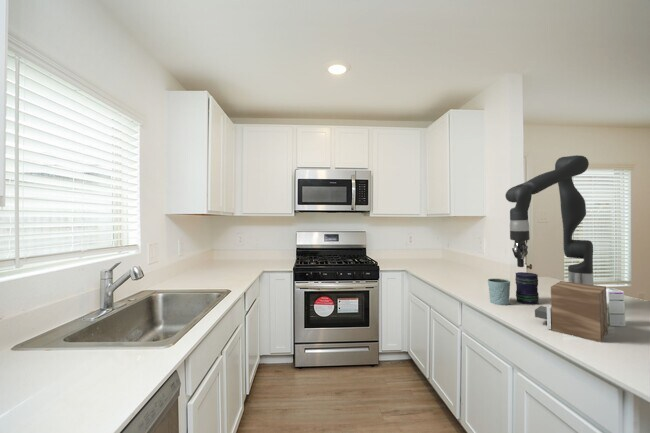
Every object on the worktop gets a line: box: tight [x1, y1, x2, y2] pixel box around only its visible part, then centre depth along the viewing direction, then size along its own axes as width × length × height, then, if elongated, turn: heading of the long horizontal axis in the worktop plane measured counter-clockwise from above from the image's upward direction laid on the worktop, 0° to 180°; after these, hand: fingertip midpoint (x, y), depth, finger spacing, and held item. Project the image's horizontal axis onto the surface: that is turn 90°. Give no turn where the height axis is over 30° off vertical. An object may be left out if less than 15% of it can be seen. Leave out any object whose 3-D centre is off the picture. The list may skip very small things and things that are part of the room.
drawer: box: [534, 304, 552, 330], centre depth 115 cm, size 15×19×8 cm
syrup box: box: [606, 287, 627, 327], centre depth 118 cm, size 6×6×14 cm
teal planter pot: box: [487, 278, 511, 306], centre depth 150 cm, size 10×10×12 cm
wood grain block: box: [550, 280, 608, 343], centre depth 112 cm, size 15×14×18 cm
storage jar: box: [515, 271, 540, 306], centre depth 150 cm, size 10×10×15 cm
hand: (520, 266), depth 132 cm, fingers closed
